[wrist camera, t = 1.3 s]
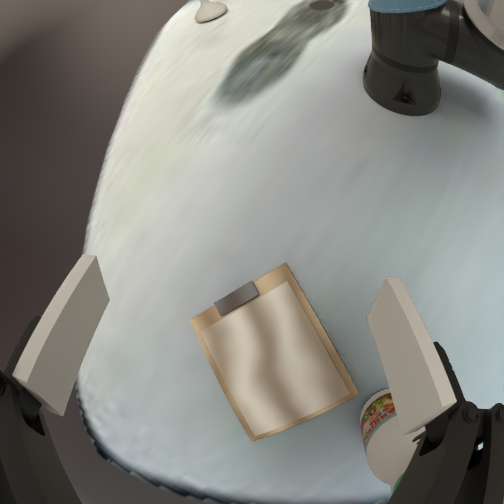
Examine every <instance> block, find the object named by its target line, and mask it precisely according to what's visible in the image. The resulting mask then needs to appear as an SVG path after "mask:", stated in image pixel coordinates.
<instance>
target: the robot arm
mask: <svg viewBox="0 0 504 504" xmlns="http://www.w3.org/2000/svg"><path fill="white" fill-rule="evenodd" d="M368 7H369V8H370V17H371V31H372V52H371V54H370V56H369V59H368V61H367V64H366V66H365V68H364V72H363V83H364V87H365V89H366V91H367V93H368V94H369V95H370V97H371V98H372V99H374V100H375V101H376V102H377V103H379V104H380V105H382V106H384V107H385V108H387V109H390V110H392V111H395V112H398V113H401V114H406V115H425V114H428V113H430V112H432V111H434V110H435V109H436V107H437V106H438V103H439V100H440V96H441V88H440V83H439V75H438V69H437V67H438V61H439V60H440V61H443V62H446V63H448V64H451V65H453V66H456V67H458V68H460V69H462V70H465V71H467V72H469V73H471V74H473V75H475V76H477V77H479V78H481V79H483V80H485V81H487V82H489V83H491V84H492V85H494V86H495V87H497V88H499V89H502V90H504V0H464V3H463V4H462V3H460V2H457V1H454V0H369V3H368ZM109 300H110V299H109V296H108V293H107V290H106V287H105V284H104V281H103V277H102V274H101V271H100V267H99V264H98V260H97V257H96V256H93V255H82V257H81V258H80V259H79V261H78V262H77V263H76V265H75V266H74V268H73V269H72V271H71V272H70V273H69V275H68V276H67V278H66V279H65V281H64V282H63V284H62V285H61V287H60V289H59V290H58V292H57V293H56V295H55V296H54V298H53V299H52V301H51V303H50V304H49V306H48V308H47V309H46V311H45V313H44V314H43V316H42V317H40V316H37V317H35V318H34V319H33V320H32V321H31V322H30V323H29V325H28V326H27V328H26V330H25V332H24V335H23V336H22V337H21V339H20V341H19V343H18V345H17V346H16V348H15V350H14V352H13V354H12V356H11V358H10V361H9V362H8V365H7V367H6V369H5V371H4V372H2V371H1V370H0V504H82V503H81V501H80V499H79V497H78V496H77V494H76V492H75V490H74V488H73V486H72V484H71V482H70V480H69V478H68V476H67V474H66V472H65V470H64V468H63V465H62V463H61V461H60V459H59V456H58V454H57V451H56V449H55V446H54V444H53V442H52V439H51V436H50V433H49V430H48V428H47V425H46V422H45V419H44V415H43V413H42V411H41V409H40V407H41V405H43V406H44V407H45V408H46V409H47V410H49V411H51V412H53V413H56V414H58V415H61V416H63V415H64V411H65V408H66V405H67V402H68V399H69V396H70V394H71V390H72V387H73V385H74V382H75V380H76V377H77V374H78V372H79V369H80V366H81V364H82V361H83V359H84V356H85V354H86V351H87V349H88V347H89V344H90V342H91V340H92V337H93V335H94V333H95V330H96V328H97V326H98V324H99V322H100V319H101V317H102V315H103V313H104V311H105V309H106V307H107V305H108V302H109ZM366 318H367V321H368V324H369V326H370V329H371V332H372V335H373V338H374V341H375V344H376V347H377V350H378V353H379V356H380V359H381V362H382V365H383V368H384V372H385V375H386V378H387V382H388V385H389V389H390V392H391V396H392V399H393V403H394V407H395V410H396V414H397V418H398V422H399V426H400V430H401V434H402V436H403V435H406V434H410V433H413V432H416V431H418V430H419V429H421V428H422V427H424V426H425V431H424V432H422V433H421V434H419V435H418V436H416V437H415V438H414V439H413V440H412V442H415V441H417V440H419V439H420V440H419V441H418V442H417V443H416V444H418V445H417V448H416V450H415V452H414V454H413V456H412V459H411V461H410V463H409V465H408V467H407V469H406V471H405V473H404V475H403V477H402V479H401V481H400V482H399V484H398V486H397V488H396V490H395V491H394V493H393V495H392V497H391V498H390V500H389V502H388V503H387V504H502V503H503V498H504V405H503V404H501V403H497V404H495V405H494V406H493V407H492V408H490V409H478V408H477V406H476V405H475V404H474V403H472V402H469V401H467V402H466V400H465V398H464V396H463V393H462V391H461V388H460V385H459V383H458V380H457V378H456V375H455V373H454V371H453V370H452V366H451V363H449V359H448V357H447V354H446V352H445V350H444V349H443V348H442V347H441V345H440V344H439V343H438V342H432V340H431V337H430V335H429V333H428V331H427V329H426V327H425V325H424V323H423V321H422V319H421V317H420V315H419V313H418V311H417V309H416V307H415V305H414V303H413V301H412V299H411V297H410V296H409V294H408V292H407V290H406V288H405V286H404V285H403V283H402V281H401V279H400V278H397V277H386V279H385V281H384V283H383V286H382V288H381V290H380V292H379V294H378V296H377V298H376V300H375V302H374V304H373V306H372V308H371V310H370V312H369V313H368V315H367V317H366ZM481 443H483V448H482V449H480V450H478V445H479V444H481Z"/></svg>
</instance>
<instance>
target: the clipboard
mask: <svg viewBox="0 0 504 504" xmlns="http://www.w3.org/2000/svg"><path fill="white" fill-rule="evenodd" d="M214 304H215V305H214V306H213V307H211V308H209V309H207V310H206V311H204V312H202V313H201V314H199V315H197V316H195V317H194V318H192V319H190V322H191V324H192V327H193V329H194V331H195V333H196V335H197V338H198V340H199V342H200V344H201V346H202V348H203V351H204V353H205V355H206V357H207V359H208V361H209V363H210V365H211V367H212V369H213V371H214V373H215V375H216V377H217V379H218V381H219V383H220V385H221V387H222V389H223V391H224V393H225V395H226V397H227V398H228V400H229V402H230V404H231V406H232V408H233V410H234V411H235V413H236V415H237V417H238V419H239V420H240V422H241V424H242V426H243V427H244V429H245V431H246V433H247V434H248V436H249V438H250V440H251V441H255V440H258V439H261V438H264V437H267V436H270V435H272V434H275V433H278V432H280V431H283V430H285V429H288V428H290V427H293V426H295V425H297V424H300V423H302V422H304V421H307V420H309V419H311V418H313V417H316V416H318V415H320V414H322V413H324V412H326V411H328V410H330V409H332V408H334V407H336V406H338V405H340V404H342V403H344V402H346V401H348V400H350V399H351V398H353V397H355V396H357V395H359V391H358V389H357V388H356V386H355V384H354V382H353V380H352V378H351V377H350V375H349V373H348V371H347V369H346V367H345V366H344V364H343V362H342V360H341V358H340V357H339V355H338V353H337V351H336V349H335V348H334V346H333V344H332V342H331V340H330V339H329V337H328V335H327V333H326V332H325V330H324V328H323V326H322V324H321V323H320V321H319V319H318V317H317V316H316V314H315V312H314V310H313V309H312V307H311V305H310V303H309V302H308V300H307V298H306V296H305V295H304V293H303V291H302V290H301V288H300V286H299V284H298V283H297V281H296V279H295V278H294V276H293V274H292V272H291V271H290V269H289V267H288V266H287V264H286V263H284V264H283V265H281V266H279V267H278V268H276V269H274V270H273V271H271V272H270V273H268V274H266V275H265V276H263V277H261V278H260V279H258V280H256V281H255V282H252V281H251V282H249V283H247V284H246V285H244V286H242V287H241V288H239V289H237V290H236V291H234V292H232V293H231V294H229V295H227V296H226V297H224V298H222V299H220V300H219V301H217V302H215V303H214Z"/></svg>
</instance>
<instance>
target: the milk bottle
mask: <svg viewBox="0 0 504 504" xmlns="http://www.w3.org/2000/svg"><path fill="white" fill-rule="evenodd" d="M360 425H361V431H362V437H363V443H364V448H365V453H366V457H367V461H368V464H369V467H370V469H371V470H372V472H373V473H374V475H375V476H376V477H377V478H378V479H380V480H381V481H383V482H385V483H387V484H389V485H391V492H392V495H393V493H394V491H395V490H396V488H397V486H398V484H399V482H400V481H401V479H402V477H403V475H404V473H405V471H406V469H407V467H408V465H409V463H410V461H411V459H412V456H413V454H414V452H415V450H416V448H417V445H418V444H416V443H417V442H418V441H419V440H420V439H419V440H417V441H415V442H412V440H413V439H414V438H415V437H416V436H418V435H419V434H421V433H422V432H424V431H425V426H424V427H422V428H421V429H419V430H418V431H416V432H413V433H410V434H406V435H403V436H402V434H401V430H400V426H399V422H398V418H397V414H396V410H395V407H394V403H393V399H392V396H391V392H390V389H389V388H388V389H384V390H382V391H379V392H378V393H376V394H374V395H373V396H372V397H371V398H370V399H369V400H368V401H367V402H366V403H365V405H364V407H363V409H362V411H361V415H360Z"/></svg>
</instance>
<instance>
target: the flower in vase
mask: <svg viewBox="0 0 504 504" xmlns="http://www.w3.org/2000/svg"><path fill="white" fill-rule="evenodd" d="M200 2H201V7H200V8H199V10H198V12H197V13H196V15H195V20H196V21H198V22H203V21H208V20H211V19H214V18H216V17H218V16H220V15H222V14H223V13H224V12H225V11H226V10H227V6H226V5H224V4H221V3H215V2H210V1H208V0H200Z"/></svg>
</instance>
